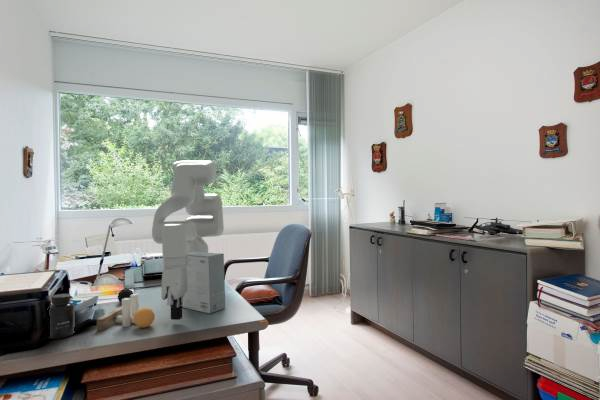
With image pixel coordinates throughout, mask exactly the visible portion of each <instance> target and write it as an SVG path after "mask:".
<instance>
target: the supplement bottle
mask: <svg viewBox="0 0 600 400" xmlns="http://www.w3.org/2000/svg"><path fill="white" fill-rule="evenodd" d="M71 299H72V298H71V293H61V294H60V293H57V294H54V295H52V296H51V300H50V303H51V305H49V306H50V309H49V315H50V338H51V340H59V339H60V340H61V339H64V338H69V337H71V336H72V335H74V334H73V333H75V331H74V327H75V304H74V303H72V302H71ZM50 338H49V339H50Z"/></svg>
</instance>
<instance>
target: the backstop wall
mask: <svg viewBox="0 0 600 400" xmlns="http://www.w3.org/2000/svg"><path fill="white" fill-rule="evenodd" d="M117 316H122V305H121V306H119V307H117V308H115V309H113V310H111V311H109V312H108V313H105V314H104V315H102V316H100V317H98V318H96V331H101V332H102V331H105V330H106V329H108V328H110V327H111V326H114V325H115V324H117V323H116V322H115V319H116V317H117Z"/></svg>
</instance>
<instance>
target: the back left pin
mask: <svg viewBox="0 0 600 400" xmlns="http://www.w3.org/2000/svg"><path fill="white" fill-rule="evenodd" d="M121 306H122V323H121V325H122V327H123V328H127V327H130V326H132V323H131V303H130V298H124V299H122V303H121Z"/></svg>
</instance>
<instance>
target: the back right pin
mask: <svg viewBox="0 0 600 400" xmlns="http://www.w3.org/2000/svg"><path fill="white" fill-rule="evenodd" d="M138 310H139V293H133V294H132V295H130V314H131V316H134V315H135V313H136V312H137V311H138Z"/></svg>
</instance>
